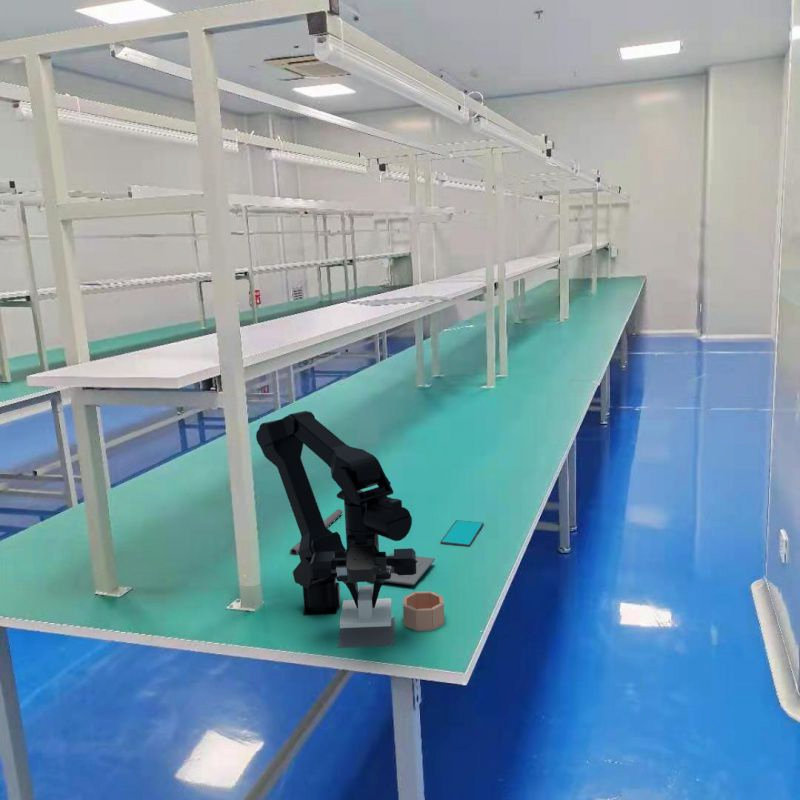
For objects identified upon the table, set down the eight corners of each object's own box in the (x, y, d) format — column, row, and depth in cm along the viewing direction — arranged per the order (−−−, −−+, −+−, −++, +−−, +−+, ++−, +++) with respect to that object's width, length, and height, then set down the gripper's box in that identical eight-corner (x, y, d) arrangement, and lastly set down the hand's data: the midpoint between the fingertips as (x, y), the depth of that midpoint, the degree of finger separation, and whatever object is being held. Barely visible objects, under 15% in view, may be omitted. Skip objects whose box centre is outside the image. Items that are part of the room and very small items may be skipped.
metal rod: (290, 555, 170) (289, 547, 169) (336, 515, 195) (335, 508, 194) (297, 556, 169) (297, 548, 169) (342, 516, 194) (342, 509, 194)
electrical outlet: (414, 593, 148) (413, 582, 148) (367, 586, 152) (366, 576, 152) (435, 567, 160) (434, 557, 160) (391, 561, 164) (390, 551, 164)
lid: (339, 628, 127) (338, 605, 126) (343, 603, 136) (342, 582, 135) (391, 626, 127) (389, 603, 126) (391, 602, 136) (390, 580, 135)
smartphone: (439, 542, 172) (456, 520, 186) (440, 545, 172) (456, 523, 186) (470, 545, 169) (484, 522, 183) (470, 548, 170) (484, 525, 183)
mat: (337, 649, 127) (337, 647, 127) (341, 621, 137) (341, 619, 137) (394, 647, 127) (394, 645, 127) (394, 619, 137) (394, 617, 137)
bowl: (404, 634, 132) (403, 611, 131) (403, 614, 139) (402, 592, 138) (445, 632, 132) (444, 609, 131) (442, 612, 139) (442, 590, 138)
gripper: (303, 545, 120) (309, 631, 123) (415, 541, 120) (418, 627, 123) (311, 521, 131) (316, 601, 134) (414, 517, 131) (417, 597, 134)
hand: (366, 607), depth 131 cm, fingers closed on lid, 2 cm apart
